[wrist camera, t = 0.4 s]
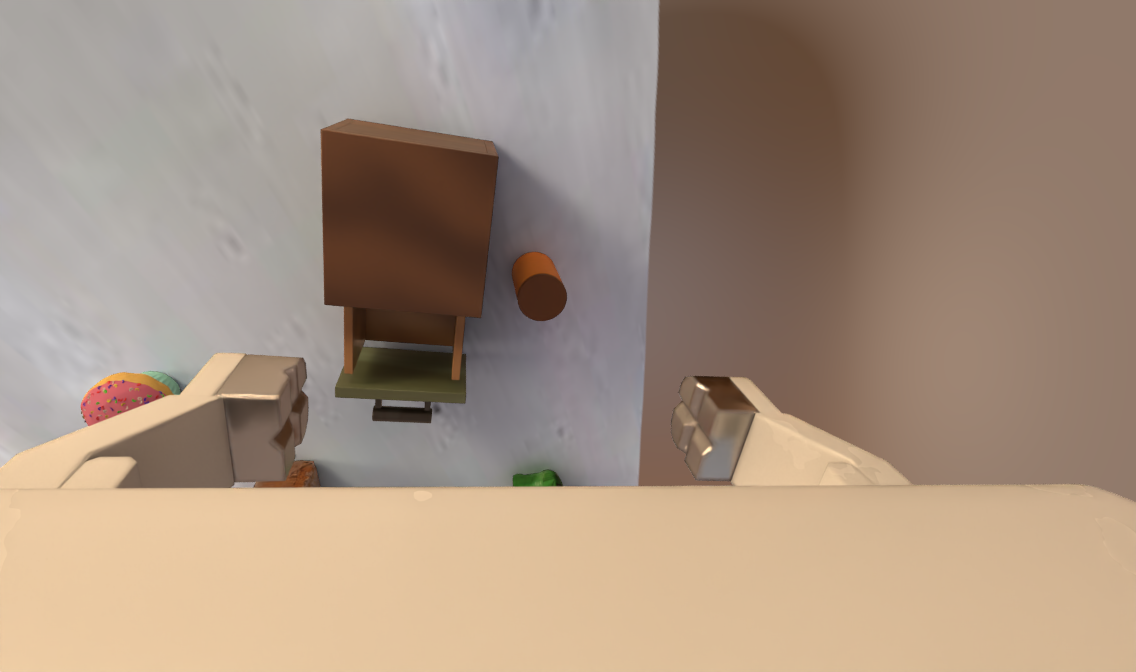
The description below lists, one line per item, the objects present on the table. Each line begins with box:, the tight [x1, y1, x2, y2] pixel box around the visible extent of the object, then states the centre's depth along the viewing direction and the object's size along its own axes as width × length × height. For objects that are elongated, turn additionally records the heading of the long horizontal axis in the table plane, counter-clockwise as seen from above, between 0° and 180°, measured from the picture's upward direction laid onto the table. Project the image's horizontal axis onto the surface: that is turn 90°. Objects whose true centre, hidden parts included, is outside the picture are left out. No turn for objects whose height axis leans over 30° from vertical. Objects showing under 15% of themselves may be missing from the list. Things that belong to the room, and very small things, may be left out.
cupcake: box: [81, 371, 181, 426], centre depth 54 cm, size 9×8×12 cm
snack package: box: [513, 470, 563, 487], centre depth 74 cm, size 7×16×5 cm, turn 8°
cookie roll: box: [512, 252, 567, 321], centre depth 58 cm, size 5×5×8 cm
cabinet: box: [321, 119, 499, 318], centre depth 51 cm, size 15×14×11 cm
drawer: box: [335, 307, 466, 423], centre depth 56 cm, size 18×13×9 cm
